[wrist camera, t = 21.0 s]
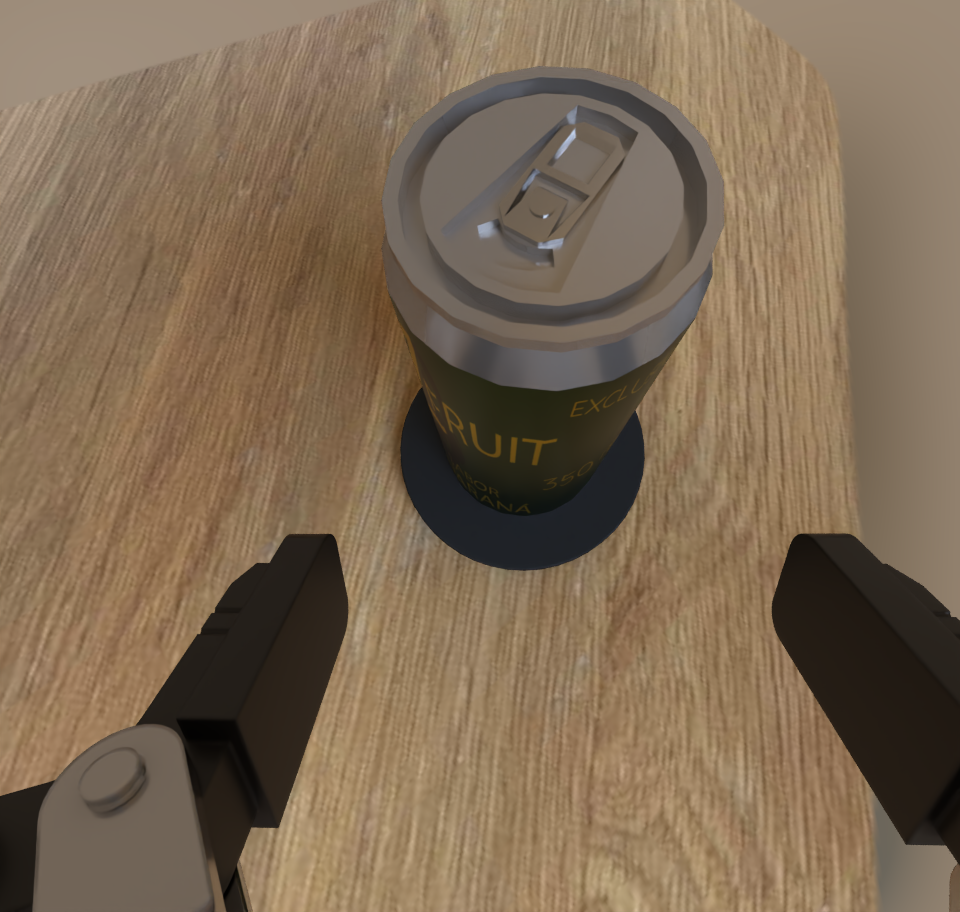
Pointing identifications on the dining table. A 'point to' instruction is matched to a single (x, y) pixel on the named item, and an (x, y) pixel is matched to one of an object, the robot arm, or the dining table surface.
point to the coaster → (513, 535)
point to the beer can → (545, 269)
